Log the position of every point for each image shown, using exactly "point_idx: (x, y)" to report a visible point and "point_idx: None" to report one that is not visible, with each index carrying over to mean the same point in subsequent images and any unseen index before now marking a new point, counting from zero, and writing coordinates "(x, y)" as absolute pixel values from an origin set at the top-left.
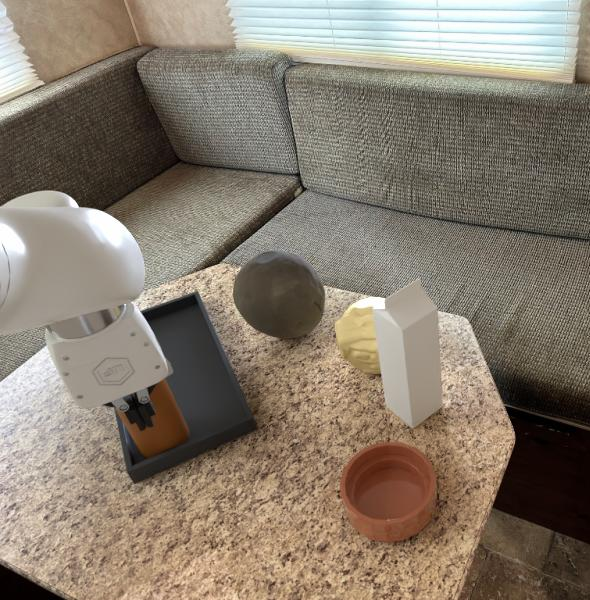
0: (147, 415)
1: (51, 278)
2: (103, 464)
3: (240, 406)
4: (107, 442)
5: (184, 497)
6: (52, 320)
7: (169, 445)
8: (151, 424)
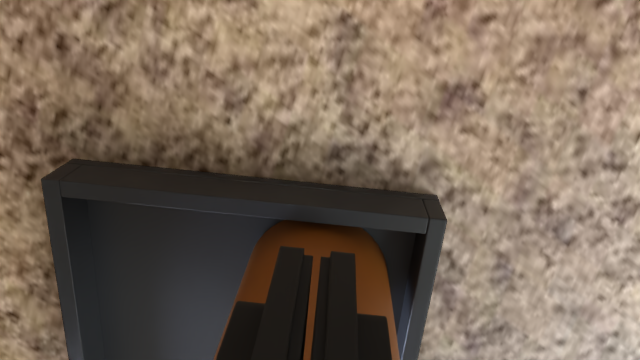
0: (268, 305)
1: None
2: (480, 300)
3: (98, 257)
4: (447, 354)
5: (331, 62)
6: None
7: (305, 235)
8: (285, 256)
